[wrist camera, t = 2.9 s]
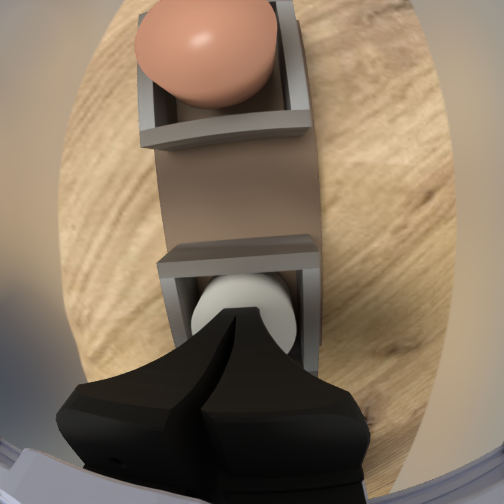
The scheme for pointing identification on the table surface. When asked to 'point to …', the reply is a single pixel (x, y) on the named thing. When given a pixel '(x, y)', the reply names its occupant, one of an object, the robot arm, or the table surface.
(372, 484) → the table surface
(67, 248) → the table surface
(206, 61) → the tan rounded dome
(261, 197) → the panel
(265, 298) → the white plunger
